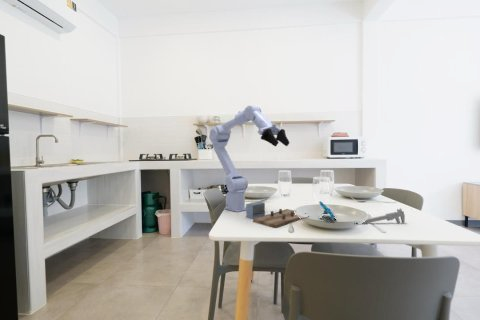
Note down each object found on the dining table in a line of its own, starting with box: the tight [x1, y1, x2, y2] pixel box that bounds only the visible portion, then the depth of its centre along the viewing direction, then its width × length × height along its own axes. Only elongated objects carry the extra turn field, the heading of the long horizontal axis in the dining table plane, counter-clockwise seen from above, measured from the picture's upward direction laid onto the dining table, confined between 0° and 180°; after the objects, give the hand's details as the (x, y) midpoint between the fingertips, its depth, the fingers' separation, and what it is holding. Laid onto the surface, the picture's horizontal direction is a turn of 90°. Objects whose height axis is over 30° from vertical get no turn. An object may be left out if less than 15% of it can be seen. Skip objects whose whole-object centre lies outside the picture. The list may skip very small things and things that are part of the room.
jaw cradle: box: [252, 208, 301, 229], centre depth 114 cm, size 12×24×3 cm, turn 134°
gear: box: [318, 201, 336, 218], centre depth 114 cm, size 11×6×10 cm
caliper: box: [361, 208, 406, 225], centre depth 106 cm, size 20×1×6 cm, turn 92°
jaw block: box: [245, 201, 266, 220], centre depth 118 cm, size 4×8×6 cm, turn 134°
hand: (282, 144), depth 109 cm, fingers open, 7 cm apart
